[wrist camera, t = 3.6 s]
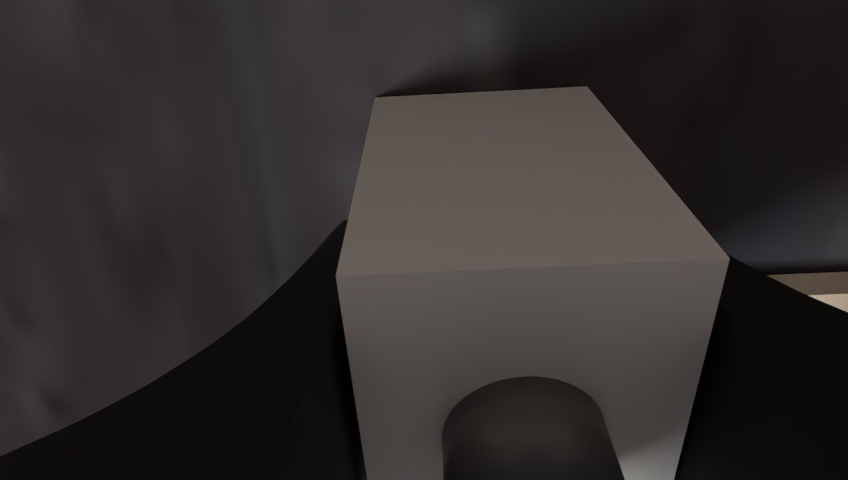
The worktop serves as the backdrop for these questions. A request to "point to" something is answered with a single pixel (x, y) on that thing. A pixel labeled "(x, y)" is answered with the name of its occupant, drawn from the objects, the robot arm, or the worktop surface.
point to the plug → (520, 293)
